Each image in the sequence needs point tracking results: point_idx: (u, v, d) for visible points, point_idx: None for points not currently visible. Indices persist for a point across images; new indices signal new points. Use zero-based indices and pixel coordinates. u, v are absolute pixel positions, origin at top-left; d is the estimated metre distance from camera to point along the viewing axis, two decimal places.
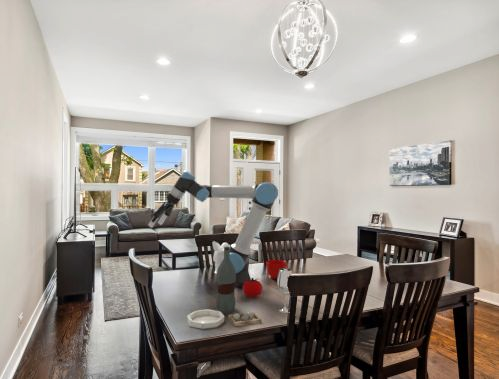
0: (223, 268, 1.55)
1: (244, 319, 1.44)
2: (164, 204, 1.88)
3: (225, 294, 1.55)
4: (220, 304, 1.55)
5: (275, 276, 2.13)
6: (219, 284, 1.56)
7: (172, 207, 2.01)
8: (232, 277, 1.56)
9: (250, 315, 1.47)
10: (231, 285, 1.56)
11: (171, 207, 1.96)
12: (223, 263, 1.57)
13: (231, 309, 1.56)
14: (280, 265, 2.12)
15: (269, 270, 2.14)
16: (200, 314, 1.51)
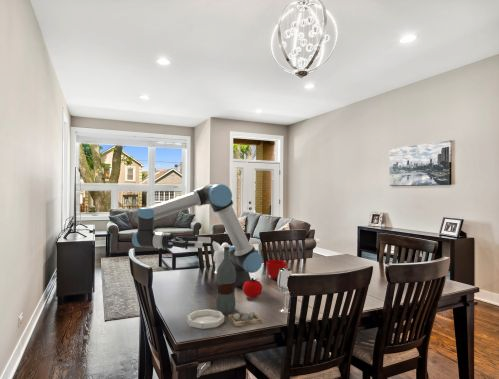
0: (223, 268, 1.55)
1: (244, 319, 1.44)
2: (170, 243, 1.56)
3: (225, 294, 1.55)
4: (220, 304, 1.55)
5: (275, 276, 2.13)
6: (219, 284, 1.56)
7: (185, 237, 1.68)
8: (232, 277, 1.56)
9: (250, 315, 1.47)
10: (231, 285, 1.56)
11: (179, 236, 1.64)
12: (223, 263, 1.57)
13: (231, 309, 1.56)
14: (280, 265, 2.12)
15: (269, 270, 2.14)
16: (200, 314, 1.51)
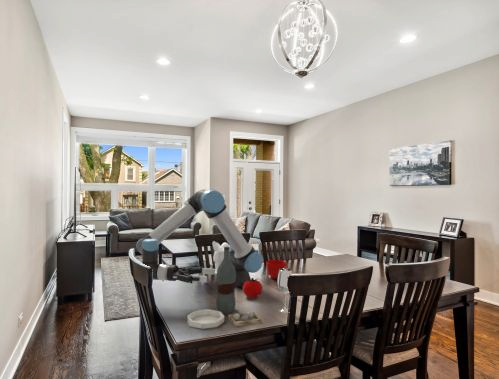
0: (223, 268, 1.55)
1: (244, 319, 1.44)
2: (175, 277, 1.55)
3: (225, 294, 1.55)
4: (220, 304, 1.55)
5: (275, 276, 2.13)
6: (219, 284, 1.56)
7: (189, 268, 1.68)
8: (232, 277, 1.56)
9: (250, 315, 1.47)
10: (231, 285, 1.56)
11: (184, 269, 1.63)
12: (223, 263, 1.57)
13: (231, 309, 1.56)
14: (280, 265, 2.12)
15: (269, 270, 2.14)
16: (200, 314, 1.51)
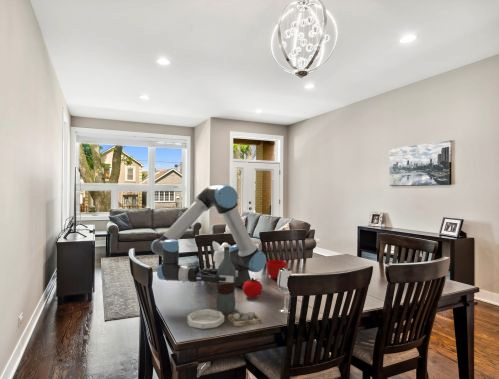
0: (223, 268, 1.55)
1: (244, 319, 1.44)
2: (199, 278, 1.54)
3: (225, 294, 1.55)
4: (219, 303, 1.55)
5: (275, 276, 2.13)
6: (219, 284, 1.56)
7: (211, 269, 1.66)
8: None
9: (250, 315, 1.47)
10: (231, 285, 1.56)
11: (205, 270, 1.62)
12: (223, 263, 1.57)
13: (231, 309, 1.56)
14: (280, 265, 2.12)
15: (269, 270, 2.14)
16: (200, 314, 1.51)
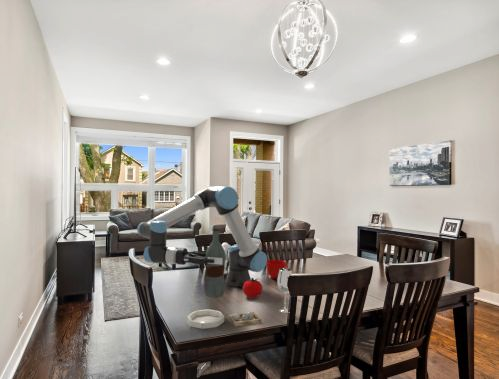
0: (212, 250, 1.48)
1: (244, 319, 1.44)
2: (186, 260, 1.47)
3: (214, 277, 1.48)
4: (208, 287, 1.48)
5: (275, 276, 2.13)
6: (207, 266, 1.49)
7: (200, 252, 1.59)
8: None
9: (250, 315, 1.47)
10: (220, 268, 1.49)
11: (193, 252, 1.55)
12: (212, 245, 1.50)
13: (220, 293, 1.49)
14: (280, 265, 2.12)
15: (269, 270, 2.14)
16: (200, 314, 1.51)
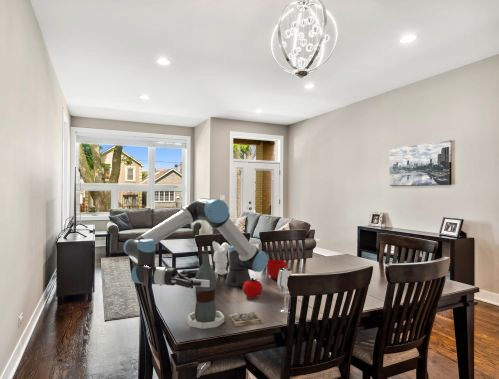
0: (202, 274, 1.42)
1: (244, 319, 1.44)
2: (174, 282, 1.40)
3: (204, 303, 1.42)
4: (198, 313, 1.42)
5: (275, 276, 2.13)
6: (197, 291, 1.42)
7: (189, 271, 1.53)
8: (212, 283, 1.43)
9: (250, 315, 1.47)
10: (211, 292, 1.42)
11: (183, 272, 1.48)
12: (202, 268, 1.44)
13: (211, 319, 1.42)
14: (280, 265, 2.12)
15: (269, 270, 2.14)
16: None
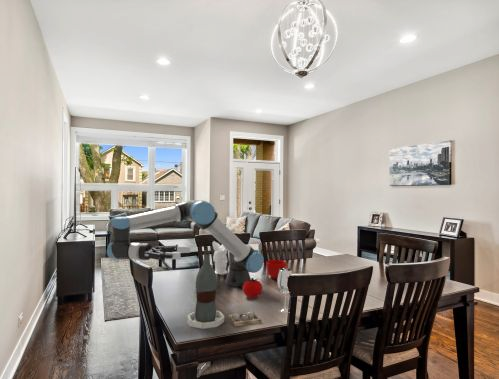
0: (203, 274, 1.42)
1: (244, 319, 1.44)
2: (147, 255, 1.47)
3: (205, 303, 1.41)
4: (198, 313, 1.42)
5: (275, 276, 2.13)
6: (198, 292, 1.42)
7: (163, 247, 1.60)
8: (213, 283, 1.42)
9: (250, 315, 1.47)
10: (211, 293, 1.42)
11: (157, 247, 1.55)
12: (203, 269, 1.43)
13: (211, 319, 1.42)
14: (280, 265, 2.12)
15: (269, 270, 2.14)
16: None
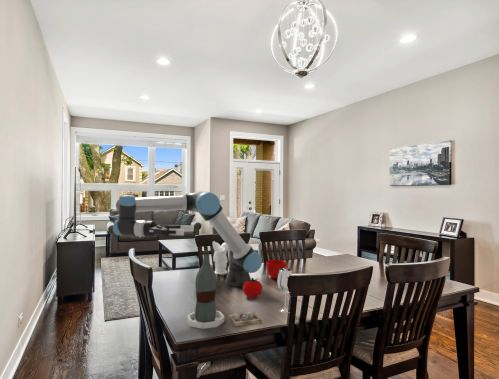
0: (202, 274, 1.42)
1: (244, 319, 1.44)
2: (151, 231, 1.52)
3: (205, 303, 1.41)
4: (198, 313, 1.42)
5: (275, 276, 2.13)
6: (198, 292, 1.42)
7: (167, 225, 1.65)
8: (212, 283, 1.42)
9: (250, 315, 1.47)
10: (211, 293, 1.42)
11: None
12: (202, 269, 1.43)
13: (211, 319, 1.42)
14: (280, 265, 2.12)
15: (269, 270, 2.14)
16: None
